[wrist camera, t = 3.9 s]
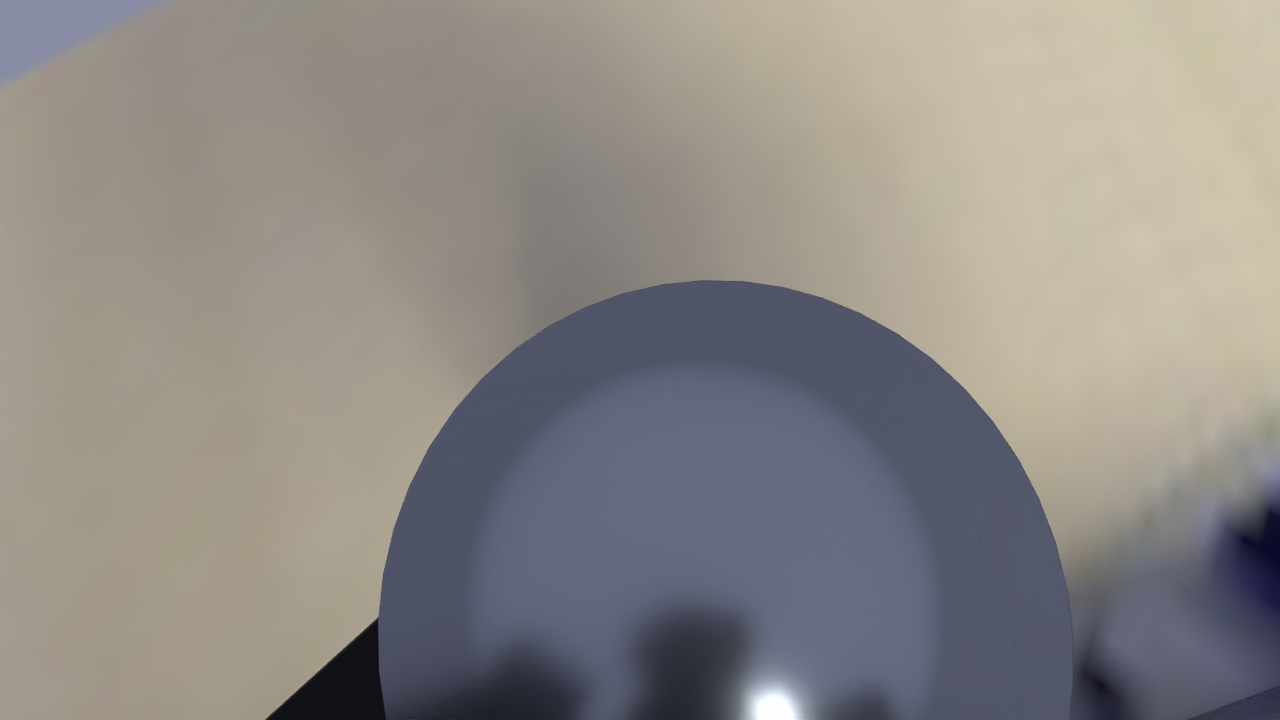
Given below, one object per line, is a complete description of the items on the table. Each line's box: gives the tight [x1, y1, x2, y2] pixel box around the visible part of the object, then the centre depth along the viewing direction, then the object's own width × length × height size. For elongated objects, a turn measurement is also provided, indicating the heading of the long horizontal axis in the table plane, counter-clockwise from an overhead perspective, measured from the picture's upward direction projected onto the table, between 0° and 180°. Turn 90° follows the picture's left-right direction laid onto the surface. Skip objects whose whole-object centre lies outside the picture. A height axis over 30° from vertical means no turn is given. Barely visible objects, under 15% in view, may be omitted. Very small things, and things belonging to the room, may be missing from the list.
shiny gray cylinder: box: [378, 280, 1073, 720], centre depth 10 cm, size 4×4×12 cm
